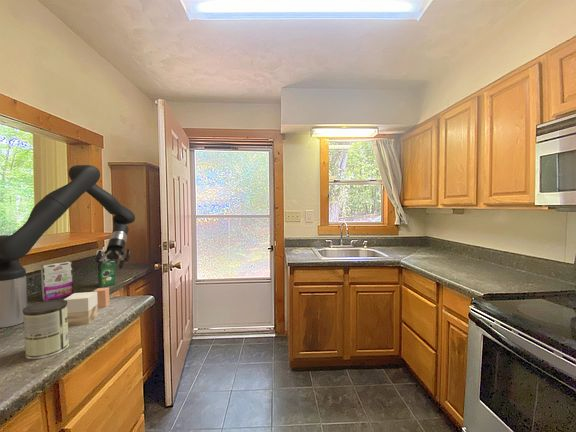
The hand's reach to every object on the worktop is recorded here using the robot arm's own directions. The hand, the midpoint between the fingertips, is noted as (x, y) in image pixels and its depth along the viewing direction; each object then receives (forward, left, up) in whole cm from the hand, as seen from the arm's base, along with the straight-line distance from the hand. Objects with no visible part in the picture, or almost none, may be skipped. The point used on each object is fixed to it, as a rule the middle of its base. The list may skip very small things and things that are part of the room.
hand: (110, 268), depth 133 cm
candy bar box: (-16, +21, -14) cm, 30 cm away
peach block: (-6, -9, -14) cm, 18 cm away
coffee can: (-29, -40, -14) cm, 52 cm away
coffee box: (+6, +25, -14) cm, 29 cm away
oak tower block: (-16, -21, -14) cm, 30 cm away
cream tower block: (-16, -21, -9) cm, 28 cm away
